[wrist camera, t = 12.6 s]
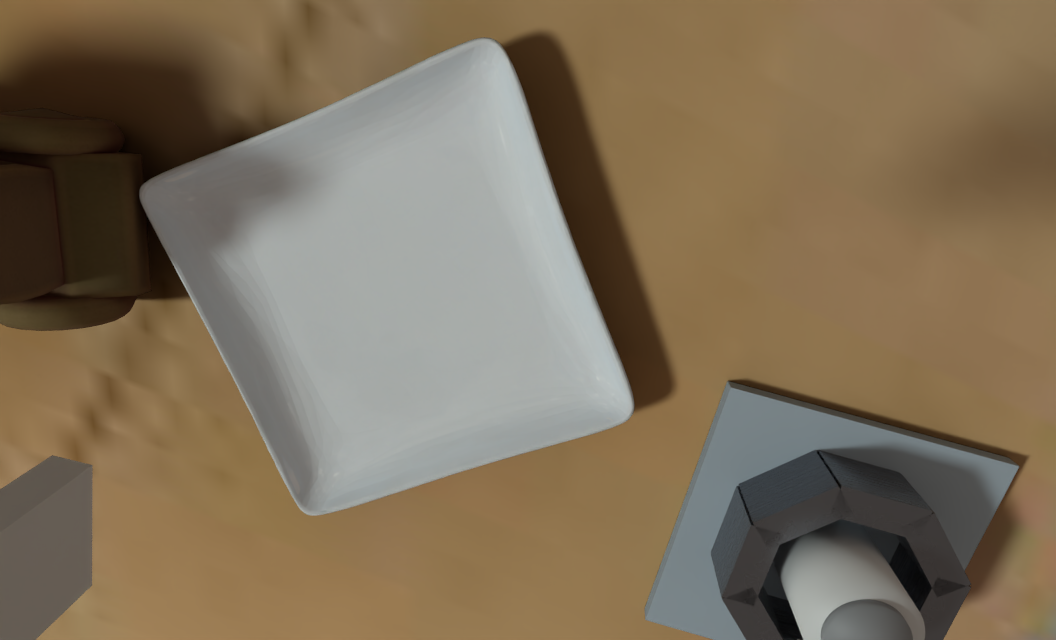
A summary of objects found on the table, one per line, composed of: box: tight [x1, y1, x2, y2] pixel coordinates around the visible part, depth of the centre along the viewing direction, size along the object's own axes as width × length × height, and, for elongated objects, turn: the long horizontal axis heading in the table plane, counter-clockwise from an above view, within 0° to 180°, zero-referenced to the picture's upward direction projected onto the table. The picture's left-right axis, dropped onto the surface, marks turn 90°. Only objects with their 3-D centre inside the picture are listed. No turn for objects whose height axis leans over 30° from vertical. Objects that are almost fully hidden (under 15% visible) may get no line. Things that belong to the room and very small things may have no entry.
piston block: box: [645, 381, 1019, 640], centre depth 36 cm, size 16×16×8 cm
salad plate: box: [139, 37, 634, 515], centre depth 38 cm, size 21×21×3 cm
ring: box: [711, 450, 971, 640], centre depth 37 cm, size 12×12×4 cm
